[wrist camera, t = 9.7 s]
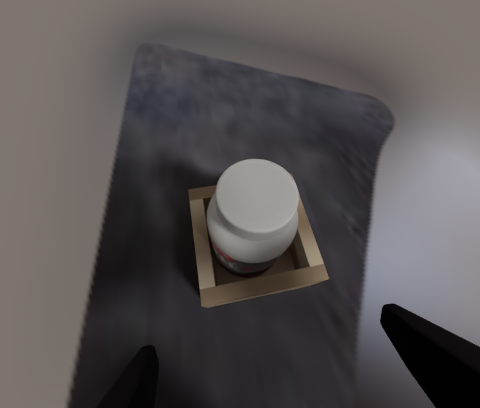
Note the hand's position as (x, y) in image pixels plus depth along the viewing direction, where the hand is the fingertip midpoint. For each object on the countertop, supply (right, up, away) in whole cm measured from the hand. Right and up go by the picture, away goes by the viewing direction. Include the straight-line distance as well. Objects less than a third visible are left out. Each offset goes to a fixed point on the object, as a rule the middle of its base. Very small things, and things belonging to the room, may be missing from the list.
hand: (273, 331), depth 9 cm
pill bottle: (-1, +1, +11) cm, 11 cm away
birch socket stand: (0, +1, +11) cm, 11 cm away
